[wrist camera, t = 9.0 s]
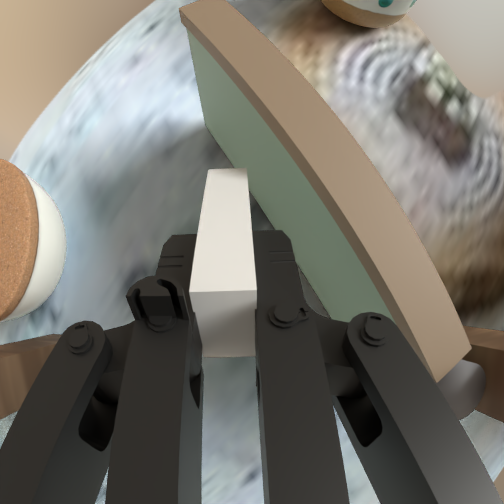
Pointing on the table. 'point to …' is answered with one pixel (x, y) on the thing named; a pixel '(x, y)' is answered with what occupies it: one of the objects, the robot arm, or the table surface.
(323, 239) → the gate
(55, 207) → the lidded jar
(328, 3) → the vase
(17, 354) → the gate posts
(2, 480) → the robot arm
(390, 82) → the table surface
